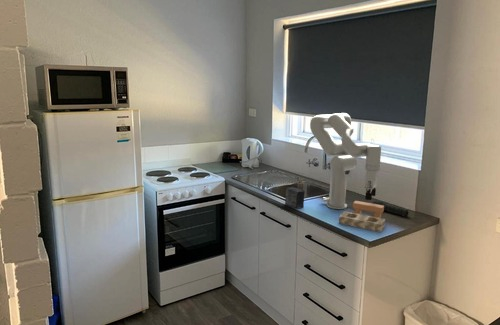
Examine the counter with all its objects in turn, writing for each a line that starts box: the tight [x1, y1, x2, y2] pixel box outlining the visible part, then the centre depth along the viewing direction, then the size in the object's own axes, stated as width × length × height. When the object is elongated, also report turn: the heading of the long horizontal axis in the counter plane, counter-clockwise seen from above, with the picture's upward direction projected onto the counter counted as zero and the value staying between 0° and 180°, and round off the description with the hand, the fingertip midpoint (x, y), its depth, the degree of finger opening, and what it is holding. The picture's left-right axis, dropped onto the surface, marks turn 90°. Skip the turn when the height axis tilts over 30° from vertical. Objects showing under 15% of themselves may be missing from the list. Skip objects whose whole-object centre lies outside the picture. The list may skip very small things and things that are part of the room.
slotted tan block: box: [338, 211, 386, 233], centre depth 205 cm, size 22×10×4 cm, turn 60°
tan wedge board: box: [352, 200, 385, 218], centre depth 216 cm, size 16×5×8 cm, turn 60°
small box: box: [284, 186, 305, 209], centre depth 233 cm, size 11×6×10 cm, turn 35°
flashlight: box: [372, 200, 409, 218], centre depth 227 cm, size 5×21×5 cm, turn 42°
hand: (370, 197), depth 214 cm, fingers open, 9 cm apart
